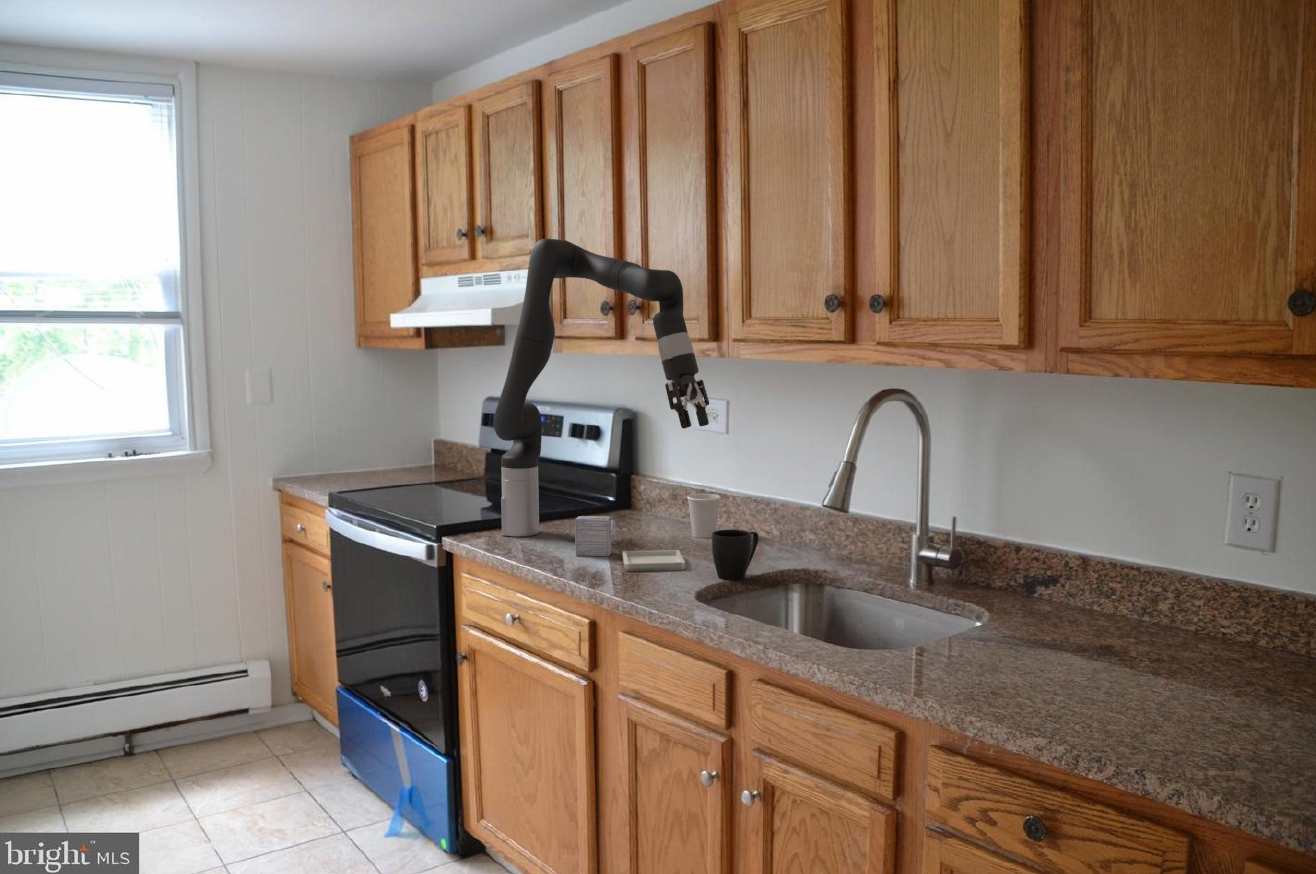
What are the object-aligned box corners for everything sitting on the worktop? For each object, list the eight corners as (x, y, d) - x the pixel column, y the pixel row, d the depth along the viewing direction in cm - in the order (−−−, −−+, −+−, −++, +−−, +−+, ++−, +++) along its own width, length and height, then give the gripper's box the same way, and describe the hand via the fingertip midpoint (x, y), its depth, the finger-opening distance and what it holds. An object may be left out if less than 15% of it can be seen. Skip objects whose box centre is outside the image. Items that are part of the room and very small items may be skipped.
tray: (625, 571, 229) (625, 564, 229) (622, 558, 242) (622, 551, 242) (685, 570, 230) (685, 562, 230) (679, 556, 243) (679, 550, 243)
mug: (771, 575, 225) (771, 531, 224) (731, 584, 217) (731, 538, 216) (743, 568, 231) (743, 525, 230) (703, 577, 223) (703, 533, 222)
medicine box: (611, 552, 248) (611, 516, 247) (609, 557, 243) (608, 519, 242) (578, 552, 248) (577, 515, 247) (575, 556, 244) (574, 519, 243)
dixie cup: (710, 540, 261) (710, 500, 260) (681, 536, 265) (681, 497, 264) (726, 534, 268) (726, 495, 267) (697, 531, 272) (697, 492, 271)
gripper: (678, 361, 244) (696, 429, 243) (647, 360, 232) (665, 432, 231) (706, 351, 240) (724, 420, 239) (676, 351, 228) (695, 423, 227)
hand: (695, 426), depth 235 cm, fingers open, 8 cm apart
